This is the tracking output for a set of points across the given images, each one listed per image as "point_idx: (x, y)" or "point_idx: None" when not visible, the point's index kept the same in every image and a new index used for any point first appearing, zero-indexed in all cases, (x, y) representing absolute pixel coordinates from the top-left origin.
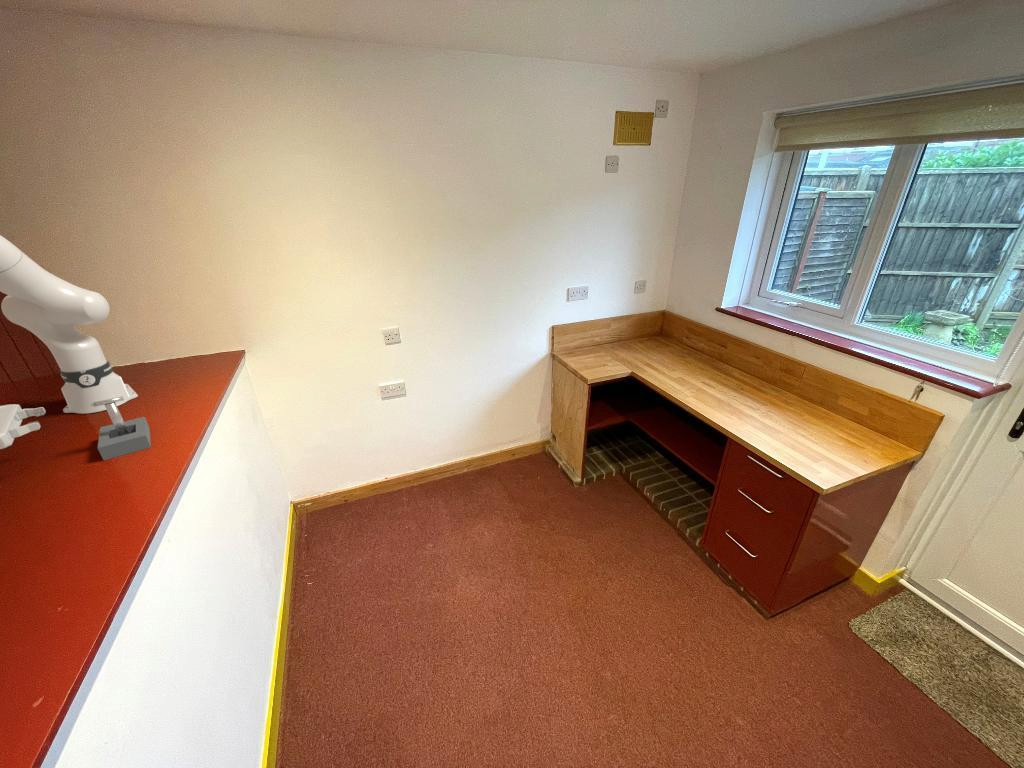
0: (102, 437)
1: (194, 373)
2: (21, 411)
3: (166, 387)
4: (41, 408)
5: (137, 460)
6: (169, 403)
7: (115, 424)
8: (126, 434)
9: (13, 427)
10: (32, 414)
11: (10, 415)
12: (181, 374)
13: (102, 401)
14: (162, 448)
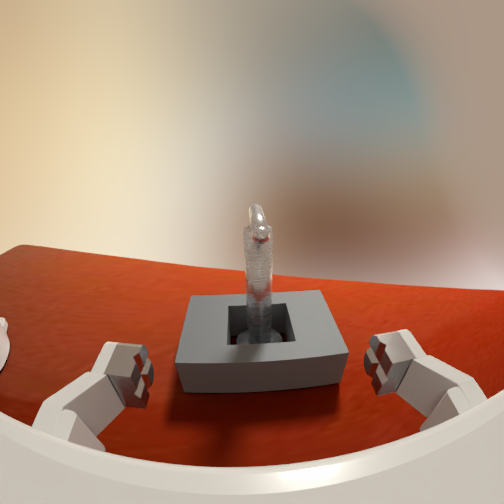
0: (272, 354)
1: (19, 271)
2: (73, 426)
3: (21, 295)
4: (129, 344)
5: (365, 331)
6: (91, 298)
7: (270, 299)
8: (289, 315)
9: (452, 402)
10: (106, 413)
11: (194, 481)
12: (3, 280)
13: (263, 219)
14: (328, 306)
